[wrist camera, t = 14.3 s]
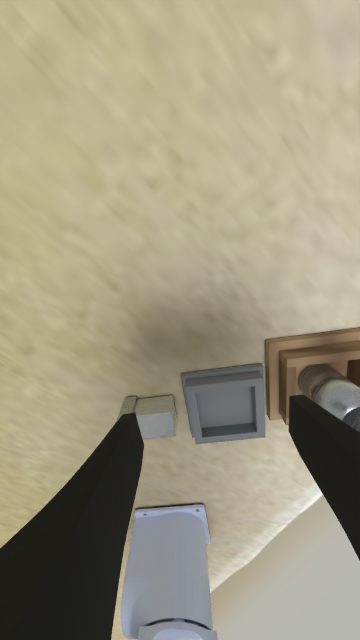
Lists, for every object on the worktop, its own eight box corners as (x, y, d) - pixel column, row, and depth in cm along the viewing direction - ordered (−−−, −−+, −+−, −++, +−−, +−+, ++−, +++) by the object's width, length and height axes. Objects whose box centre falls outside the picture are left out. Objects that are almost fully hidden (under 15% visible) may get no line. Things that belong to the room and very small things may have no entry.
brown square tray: (267, 414, 22) (276, 433, 20) (265, 339, 19) (276, 351, 17) (353, 405, 22) (372, 423, 19) (364, 327, 19) (388, 337, 17)
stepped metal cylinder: (296, 395, 20) (357, 473, 13) (299, 364, 19) (368, 431, 12) (333, 392, 20) (414, 469, 13) (338, 361, 19) (430, 426, 12)
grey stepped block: (133, 424, 23) (126, 449, 20) (125, 397, 22) (117, 419, 19) (177, 420, 23) (176, 444, 20) (171, 392, 22) (170, 413, 19)
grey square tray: (191, 433, 23) (192, 447, 22) (181, 373, 21) (181, 384, 19) (262, 425, 23) (269, 439, 21) (260, 363, 20) (267, 373, 19)
